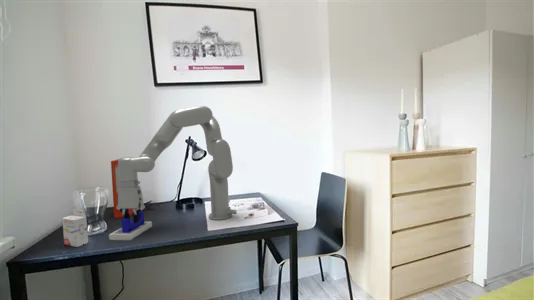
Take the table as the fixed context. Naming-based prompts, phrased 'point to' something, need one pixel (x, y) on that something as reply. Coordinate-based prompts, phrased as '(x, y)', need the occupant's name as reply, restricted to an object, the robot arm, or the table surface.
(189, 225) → the table surface
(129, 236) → the tray
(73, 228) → the ink cartridge box
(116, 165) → the file binder
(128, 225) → the cable clip
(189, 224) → the table surface
